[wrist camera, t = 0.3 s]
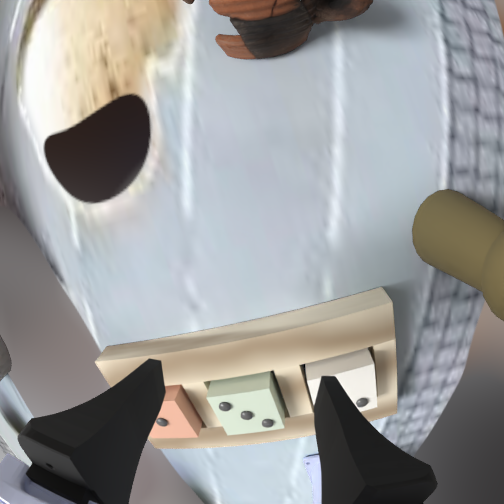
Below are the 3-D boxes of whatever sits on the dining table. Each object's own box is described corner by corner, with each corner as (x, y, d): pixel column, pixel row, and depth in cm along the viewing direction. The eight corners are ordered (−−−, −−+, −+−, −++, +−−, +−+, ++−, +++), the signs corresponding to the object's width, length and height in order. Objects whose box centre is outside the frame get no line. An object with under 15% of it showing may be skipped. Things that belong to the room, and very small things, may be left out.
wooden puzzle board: (390, 395, 25) (397, 413, 23) (161, 431, 29) (155, 448, 26) (381, 286, 22) (392, 301, 19) (106, 346, 25) (94, 361, 23)
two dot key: (369, 382, 23) (377, 408, 20) (315, 396, 24) (318, 423, 21) (364, 340, 22) (374, 365, 19) (304, 355, 23) (307, 382, 20)
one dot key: (204, 413, 26) (198, 439, 23) (160, 416, 26) (151, 439, 23) (183, 376, 24) (173, 402, 21) (138, 381, 25) (125, 404, 22)
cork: (408, 268, 21) (486, 352, 11) (414, 187, 19) (517, 224, 9) (469, 265, 20) (554, 332, 10) (477, 191, 19) (580, 226, 8)
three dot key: (284, 402, 24) (284, 430, 21) (232, 410, 25) (227, 437, 22) (270, 362, 23) (269, 390, 20) (213, 372, 24) (205, 399, 21)
